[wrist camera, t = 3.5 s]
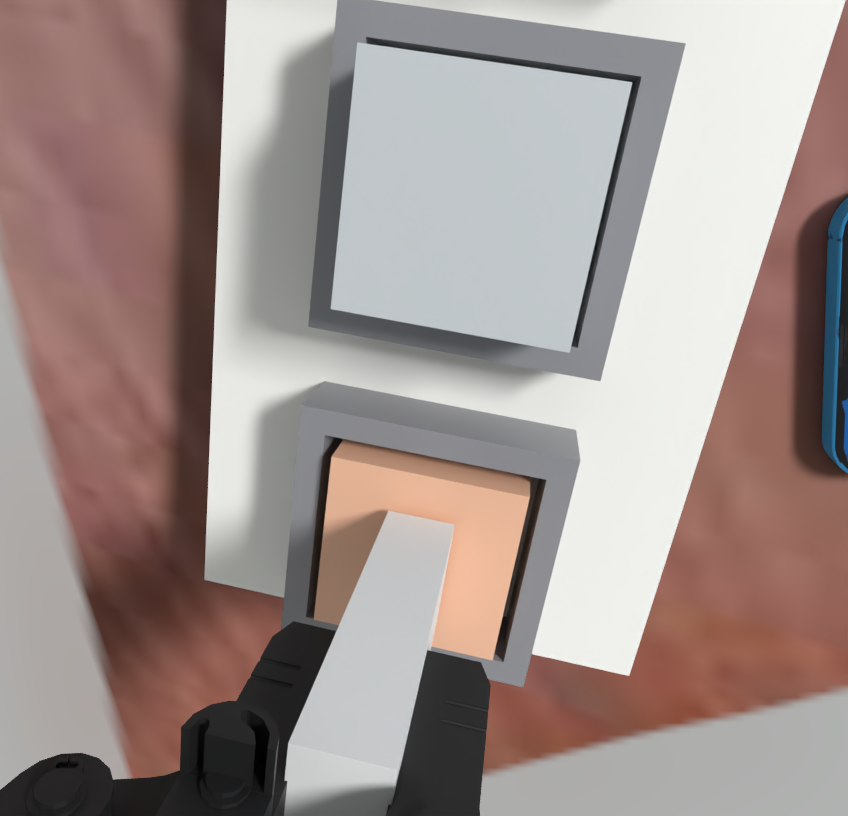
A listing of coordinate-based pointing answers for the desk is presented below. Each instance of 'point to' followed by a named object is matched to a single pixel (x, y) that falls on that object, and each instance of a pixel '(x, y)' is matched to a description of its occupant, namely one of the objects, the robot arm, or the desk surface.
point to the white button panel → (490, 358)
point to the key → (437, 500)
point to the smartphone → (836, 342)
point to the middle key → (473, 193)
